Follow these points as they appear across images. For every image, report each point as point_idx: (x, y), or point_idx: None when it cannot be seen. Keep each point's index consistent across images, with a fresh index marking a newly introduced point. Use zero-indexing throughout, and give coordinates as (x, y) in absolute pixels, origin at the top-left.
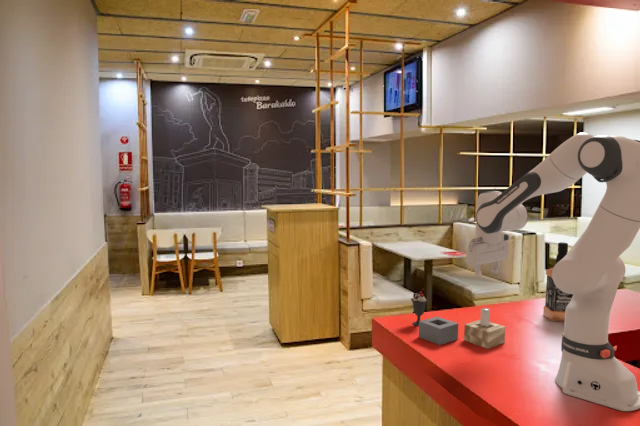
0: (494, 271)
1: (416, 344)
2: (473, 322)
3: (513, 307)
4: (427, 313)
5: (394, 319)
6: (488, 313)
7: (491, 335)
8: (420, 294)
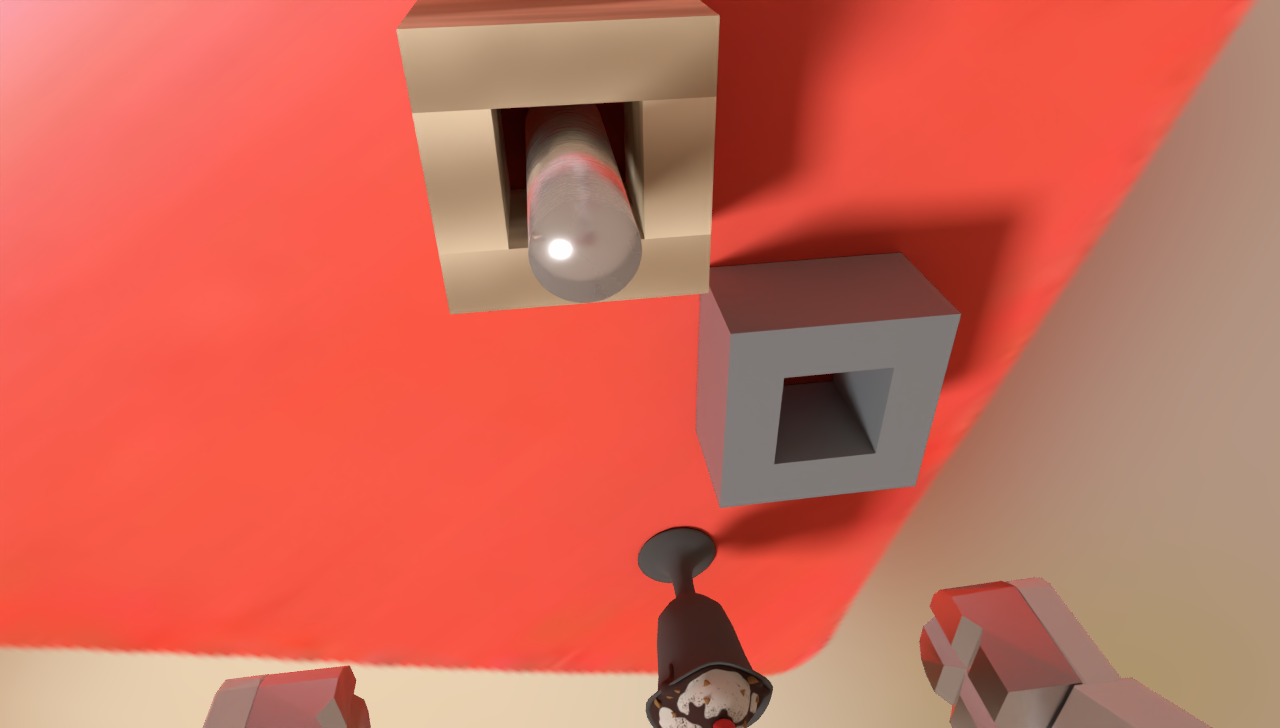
0: (338, 723)
1: (991, 333)
2: None
3: None
4: (472, 654)
5: None
6: (593, 184)
7: (654, 10)
8: None
